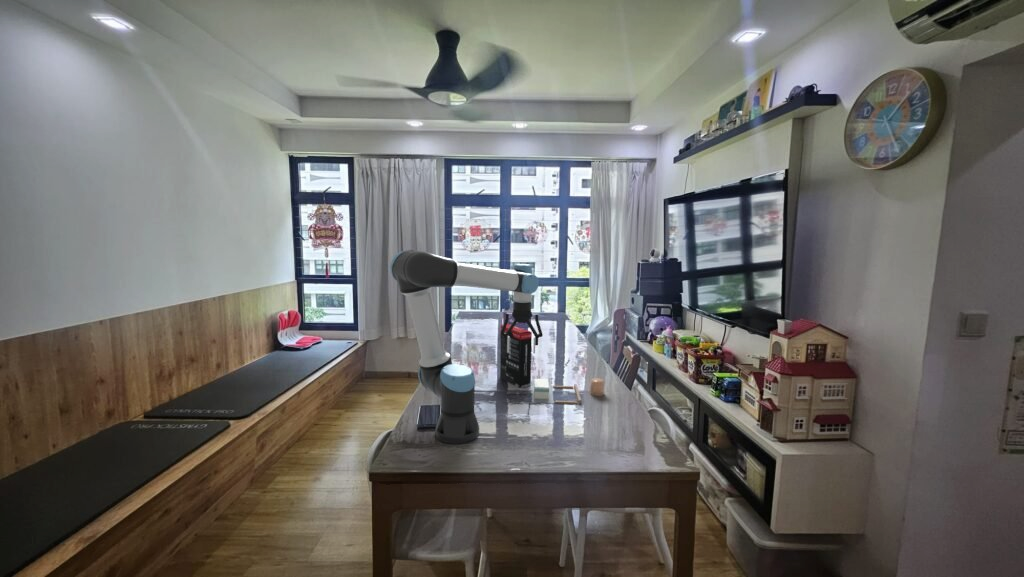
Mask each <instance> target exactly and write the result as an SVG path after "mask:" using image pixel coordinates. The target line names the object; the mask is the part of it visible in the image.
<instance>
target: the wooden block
mask: <svg viewBox="0 0 1024 577" xmlns="http://www.w3.org/2000/svg"><path fill="white" fill-rule="evenodd" d="M589 393H590V395H591V396H593V397H603V396H604V394H605V380H604V379H602V378H597V377H595V378H594V377H593V378H591V379H590V384H589Z"/></svg>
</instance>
